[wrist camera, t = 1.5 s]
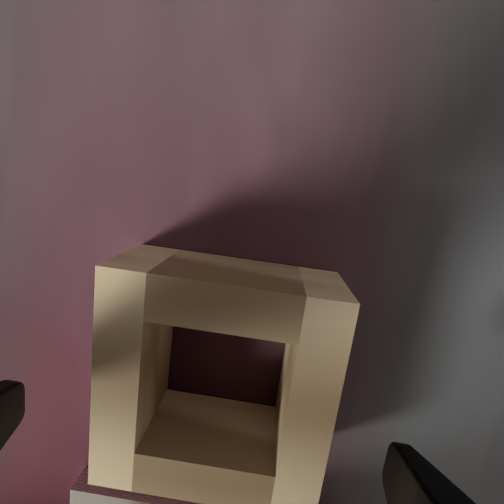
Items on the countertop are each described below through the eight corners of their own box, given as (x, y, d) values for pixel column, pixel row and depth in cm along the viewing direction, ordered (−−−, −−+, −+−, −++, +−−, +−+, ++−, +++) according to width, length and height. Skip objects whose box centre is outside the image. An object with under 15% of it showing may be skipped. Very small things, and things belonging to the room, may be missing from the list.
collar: (304, 442, 12) (314, 522, 10) (130, 414, 13) (87, 484, 10) (337, 272, 11) (360, 304, 8) (141, 244, 11) (95, 265, 8)
